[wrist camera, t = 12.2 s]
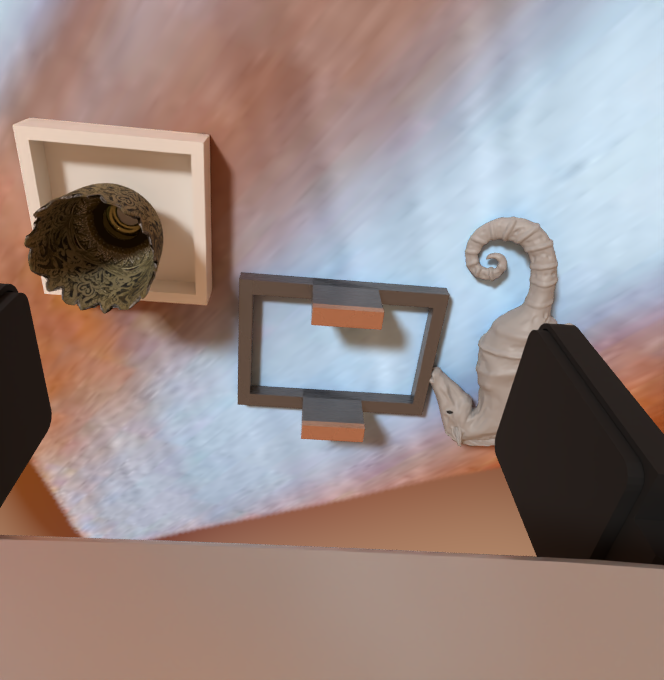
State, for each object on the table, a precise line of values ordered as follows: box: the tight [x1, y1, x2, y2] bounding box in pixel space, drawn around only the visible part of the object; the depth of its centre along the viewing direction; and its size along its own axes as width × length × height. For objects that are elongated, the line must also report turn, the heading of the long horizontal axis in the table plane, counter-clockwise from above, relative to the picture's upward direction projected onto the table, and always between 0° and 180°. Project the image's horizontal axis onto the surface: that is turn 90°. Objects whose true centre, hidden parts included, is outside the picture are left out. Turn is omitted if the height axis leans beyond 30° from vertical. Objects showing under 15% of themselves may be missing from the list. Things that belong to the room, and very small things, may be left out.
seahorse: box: [429, 217, 573, 447], centre depth 44 cm, size 5×12×20 cm
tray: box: [13, 118, 212, 305], centre depth 39 cm, size 12×12×2 cm
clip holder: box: [238, 272, 449, 442], centre depth 44 cm, size 16×12×5 cm
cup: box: [24, 183, 163, 314], centre depth 36 cm, size 8×7×8 cm
